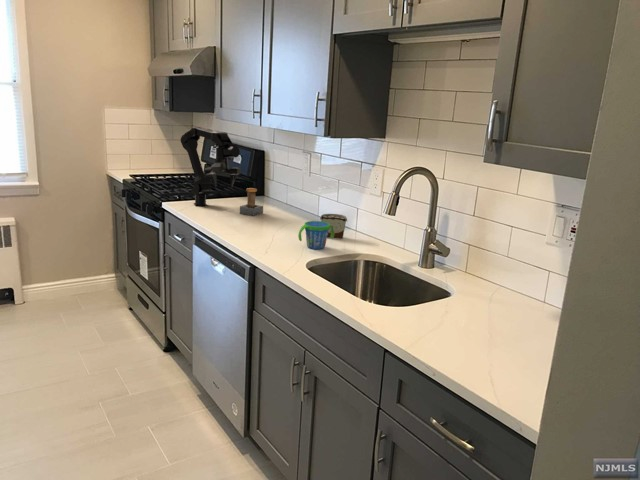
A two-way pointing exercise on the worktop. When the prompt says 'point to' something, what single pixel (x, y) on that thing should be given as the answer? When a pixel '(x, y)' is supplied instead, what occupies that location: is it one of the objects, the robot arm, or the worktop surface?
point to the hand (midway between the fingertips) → (223, 187)
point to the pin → (251, 197)
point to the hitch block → (251, 210)
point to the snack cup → (316, 234)
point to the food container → (335, 224)
